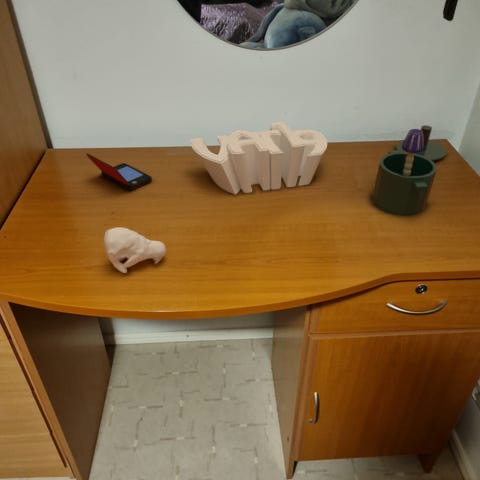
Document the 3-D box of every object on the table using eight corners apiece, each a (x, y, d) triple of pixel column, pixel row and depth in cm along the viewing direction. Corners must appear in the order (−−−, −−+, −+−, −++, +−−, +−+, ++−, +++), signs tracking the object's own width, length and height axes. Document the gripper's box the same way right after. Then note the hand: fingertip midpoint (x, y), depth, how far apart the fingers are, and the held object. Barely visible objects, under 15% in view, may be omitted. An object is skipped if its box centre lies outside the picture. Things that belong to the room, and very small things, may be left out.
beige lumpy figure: (101, 221, 94) (163, 218, 97) (106, 257, 100) (164, 253, 103) (103, 239, 90) (167, 236, 93) (107, 276, 95) (168, 271, 98)
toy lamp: (387, 202, 116) (404, 133, 104) (391, 193, 119) (407, 125, 107) (408, 206, 114) (427, 137, 103) (410, 196, 117) (429, 128, 106)
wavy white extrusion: (199, 198, 118) (197, 157, 110) (190, 167, 129) (187, 128, 122) (335, 184, 123) (341, 143, 116) (315, 155, 134) (319, 117, 127)
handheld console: (154, 181, 124) (150, 153, 119) (119, 196, 118) (114, 168, 113) (124, 165, 130) (120, 138, 125) (90, 179, 124) (84, 152, 119)
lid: (432, 140, 142) (439, 116, 137) (453, 161, 132) (461, 136, 127) (388, 143, 140) (393, 118, 135) (405, 164, 131) (412, 139, 126)
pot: (409, 181, 124) (418, 146, 117) (438, 219, 111) (451, 181, 104) (361, 184, 123) (368, 148, 116) (386, 223, 110) (395, 185, 103)
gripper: (465, -89, 84) (437, 24, 95) (558, -89, 85) (519, 22, 97) (446, -92, 89) (422, 15, 101) (534, -93, 91) (500, 13, 102)
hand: (469, 18), depth 99 cm, fingers open, 9 cm apart
